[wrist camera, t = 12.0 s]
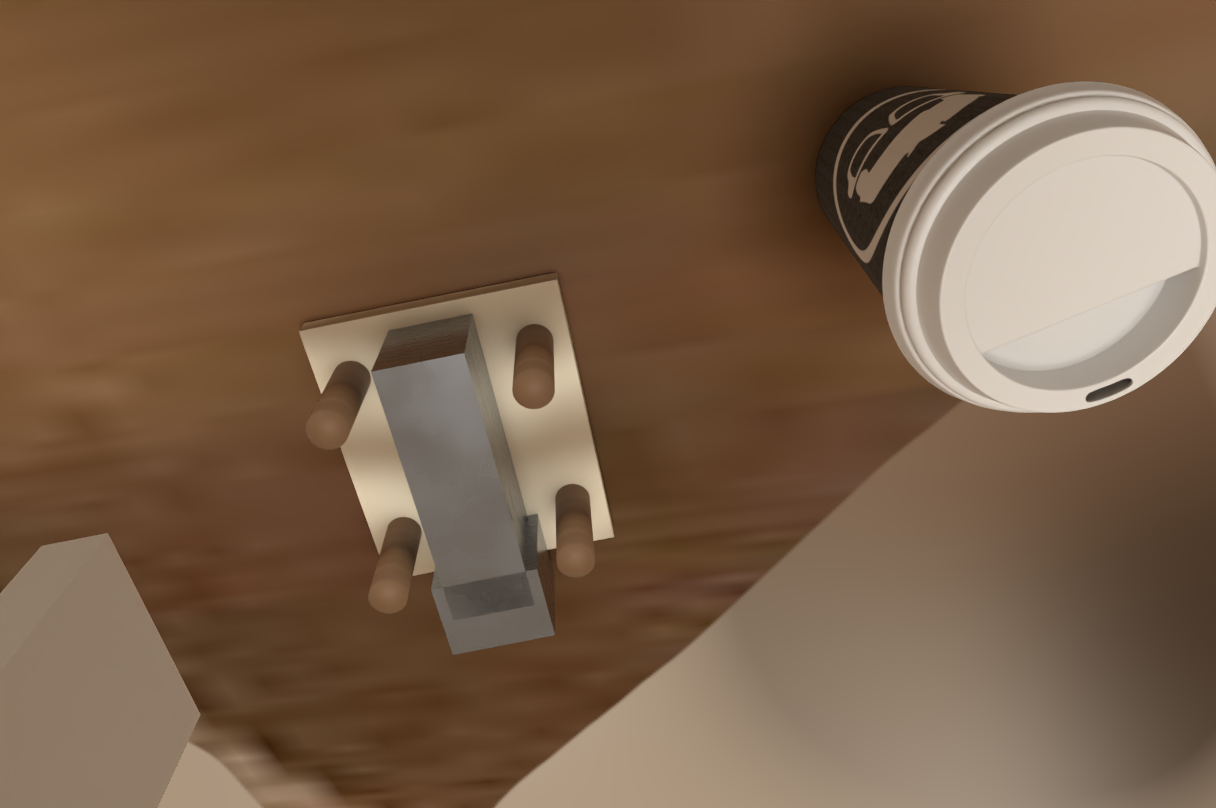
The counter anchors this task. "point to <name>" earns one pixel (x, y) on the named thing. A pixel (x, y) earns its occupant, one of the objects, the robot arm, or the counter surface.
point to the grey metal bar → (465, 486)
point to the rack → (529, 409)
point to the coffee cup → (1028, 236)
